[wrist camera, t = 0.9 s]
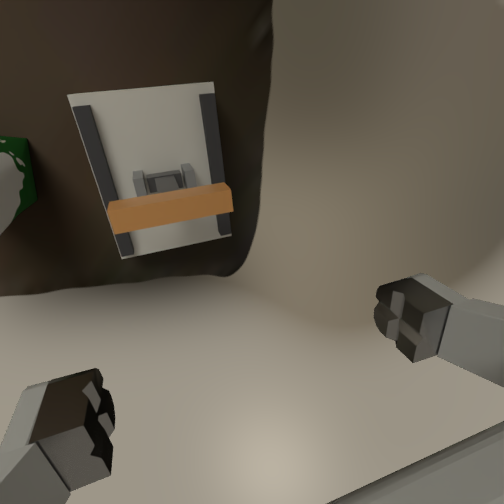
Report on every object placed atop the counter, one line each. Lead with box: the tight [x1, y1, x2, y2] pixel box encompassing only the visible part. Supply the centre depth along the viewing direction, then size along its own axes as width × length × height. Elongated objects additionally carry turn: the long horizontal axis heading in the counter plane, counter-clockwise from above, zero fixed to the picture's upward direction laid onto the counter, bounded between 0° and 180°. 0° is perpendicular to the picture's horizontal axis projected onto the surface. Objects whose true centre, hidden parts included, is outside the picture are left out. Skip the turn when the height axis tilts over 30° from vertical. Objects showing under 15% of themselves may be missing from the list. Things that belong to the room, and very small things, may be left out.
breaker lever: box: [107, 170, 233, 234], centre depth 30 cm, size 2×10×10 cm, turn 94°
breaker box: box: [67, 82, 232, 259], centre depth 36 cm, size 18×14×10 cm
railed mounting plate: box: [72, 93, 231, 257], centre depth 34 cm, size 16×13×1 cm
